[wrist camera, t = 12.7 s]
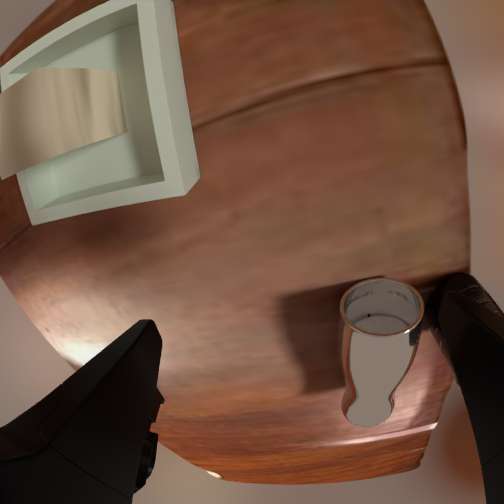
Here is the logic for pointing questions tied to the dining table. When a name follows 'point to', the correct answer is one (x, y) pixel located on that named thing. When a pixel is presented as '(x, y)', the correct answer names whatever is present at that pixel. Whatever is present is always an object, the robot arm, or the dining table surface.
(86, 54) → the bin
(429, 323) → the supplement bottle
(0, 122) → the birch block
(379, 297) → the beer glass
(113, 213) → the dining table surface
